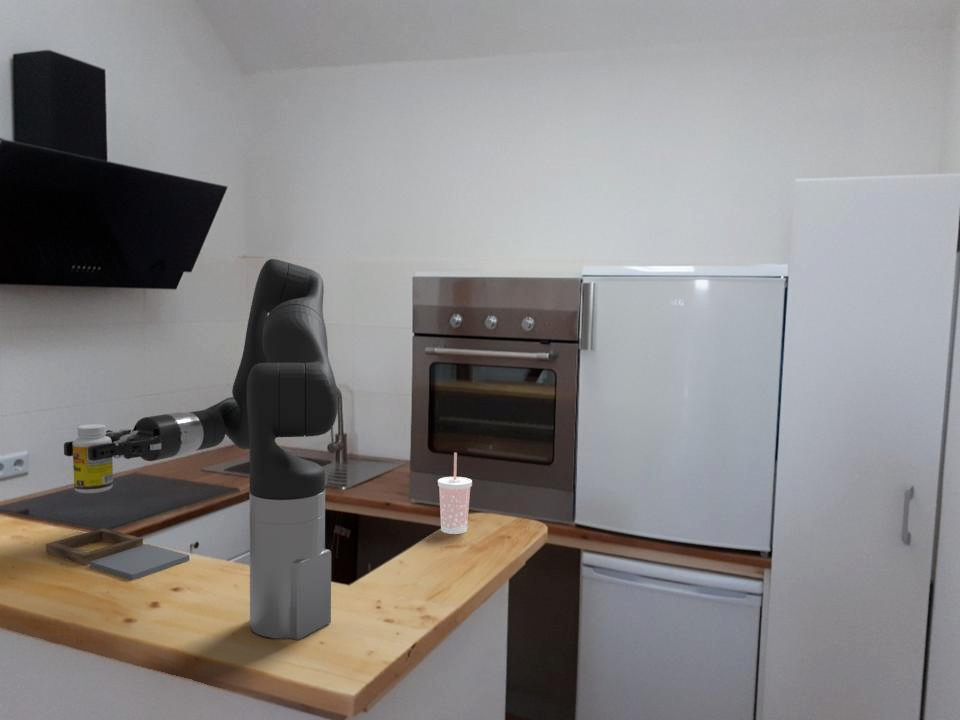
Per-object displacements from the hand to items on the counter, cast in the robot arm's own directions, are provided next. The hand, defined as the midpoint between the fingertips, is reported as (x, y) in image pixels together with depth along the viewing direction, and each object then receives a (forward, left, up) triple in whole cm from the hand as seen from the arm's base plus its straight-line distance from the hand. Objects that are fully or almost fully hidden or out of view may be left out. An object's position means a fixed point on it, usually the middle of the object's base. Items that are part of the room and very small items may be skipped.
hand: (77, 451), depth 122 cm
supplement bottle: (0, -3, -7) cm, 7 cm away
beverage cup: (-42, -44, -17) cm, 63 cm away
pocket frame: (0, -3, -16) cm, 17 cm away
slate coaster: (-11, -3, -16) cm, 20 cm away
